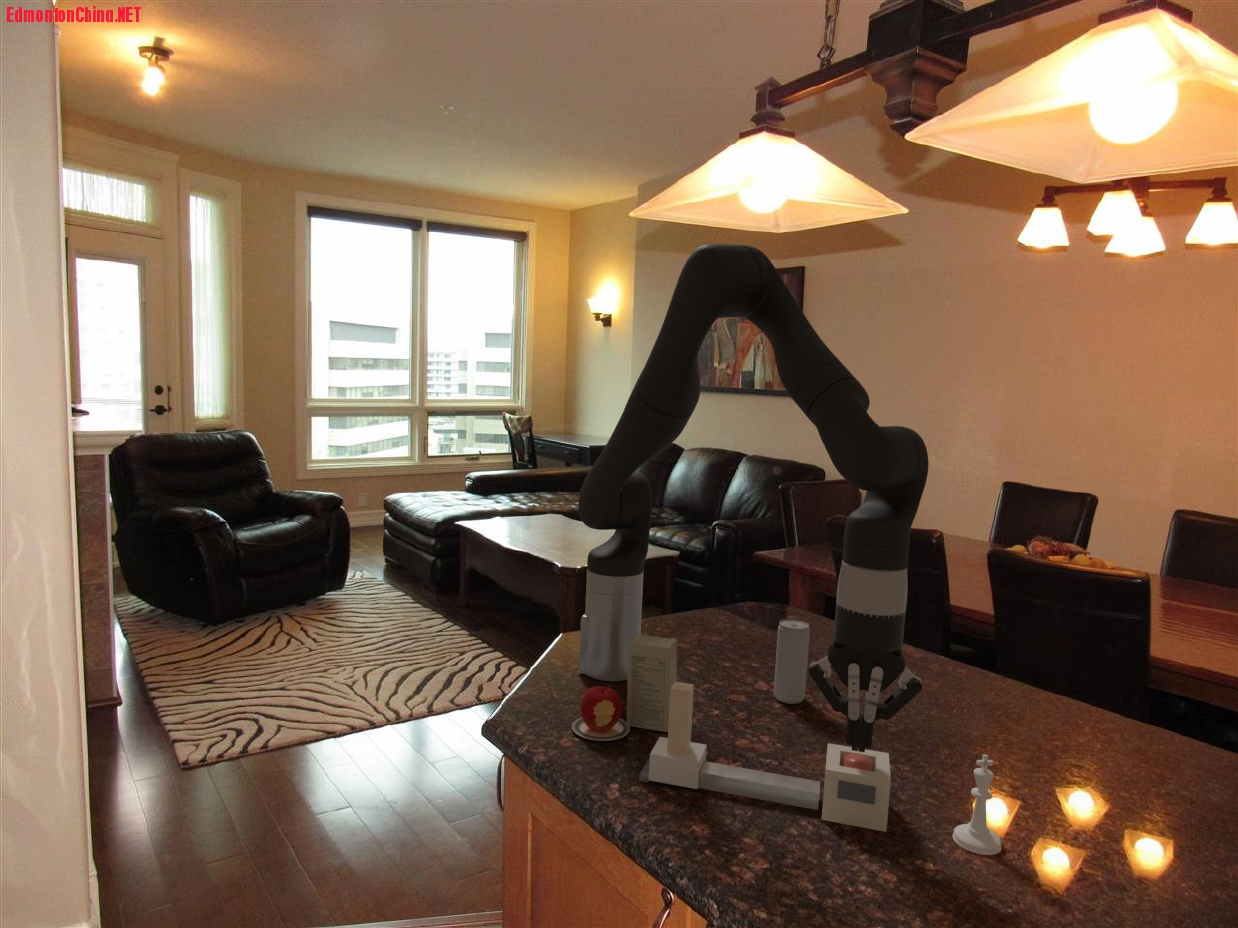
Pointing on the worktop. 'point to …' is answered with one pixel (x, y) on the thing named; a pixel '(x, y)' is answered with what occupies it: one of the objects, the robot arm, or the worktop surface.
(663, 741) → the carriage
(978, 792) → the chess piece
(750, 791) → the rail
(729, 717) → the worktop surface
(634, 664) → the skincare box
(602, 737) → the apple
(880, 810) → the cream square box
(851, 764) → the button
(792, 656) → the beverage can
